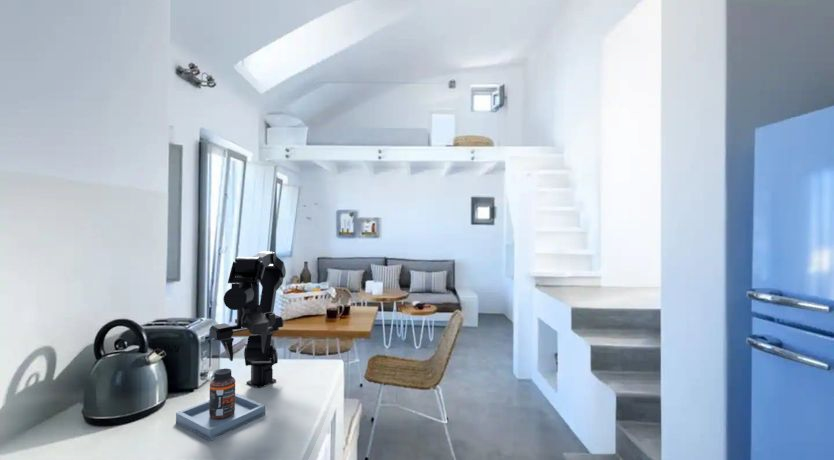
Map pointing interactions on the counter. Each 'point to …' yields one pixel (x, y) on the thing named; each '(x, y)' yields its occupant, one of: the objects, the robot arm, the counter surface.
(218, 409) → the supplement bottle
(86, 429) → the counter surface
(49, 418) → the counter surface
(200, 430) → the tray
